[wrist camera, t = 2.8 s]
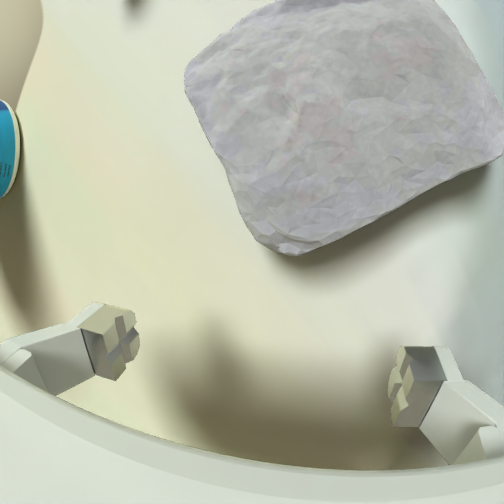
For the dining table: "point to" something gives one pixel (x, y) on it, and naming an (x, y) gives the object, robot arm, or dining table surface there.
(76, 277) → the dining table surface
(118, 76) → the dining table surface
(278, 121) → the stone block
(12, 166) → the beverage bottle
